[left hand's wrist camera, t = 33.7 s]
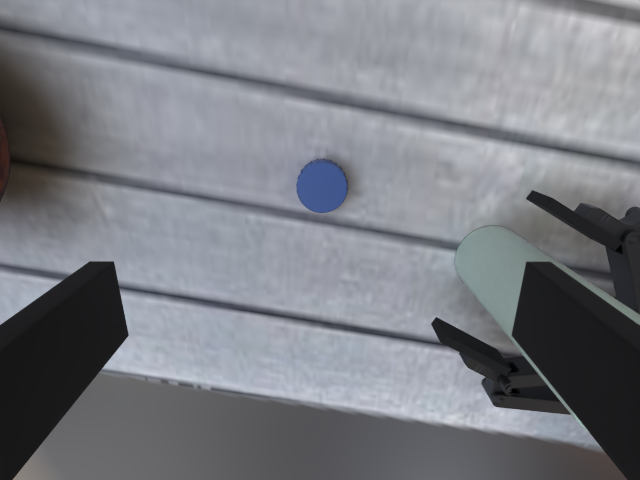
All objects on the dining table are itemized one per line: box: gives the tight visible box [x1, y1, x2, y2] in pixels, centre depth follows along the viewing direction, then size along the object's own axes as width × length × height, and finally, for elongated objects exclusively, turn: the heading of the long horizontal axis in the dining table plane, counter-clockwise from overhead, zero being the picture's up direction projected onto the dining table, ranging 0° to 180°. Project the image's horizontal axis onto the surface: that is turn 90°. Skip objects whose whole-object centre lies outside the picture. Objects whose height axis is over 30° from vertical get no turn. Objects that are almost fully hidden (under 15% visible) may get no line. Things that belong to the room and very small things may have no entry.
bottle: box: [455, 226, 640, 433], centre depth 25 cm, size 6×6×24 cm
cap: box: [296, 159, 348, 213], centre depth 34 cm, size 4×4×2 cm
